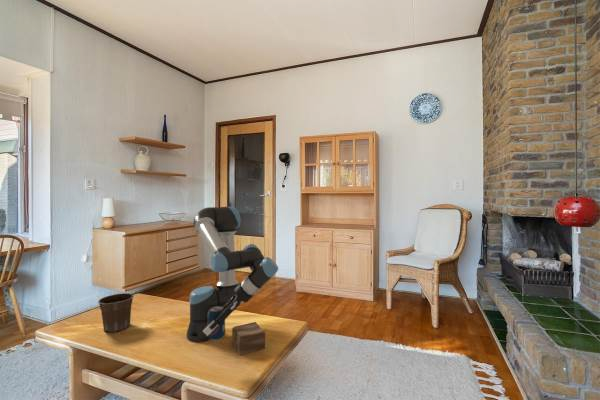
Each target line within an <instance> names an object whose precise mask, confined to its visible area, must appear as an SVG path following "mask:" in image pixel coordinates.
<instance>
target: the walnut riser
mask: <svg viewBox="0 0 600 400" xmlns="http://www.w3.org/2000/svg"><path fill="white" fill-rule="evenodd" d="M231 329H232V330H231V335H232V338H231V339H232V345H233V347H234V349H235V350H236V351H237V353H238V354H239V356H241V355H244V354H249V353H253V352H256V351H259V350H264V349H266V333H265V331H264V329H263V328H262V327H261V326H260V325H259V324H258V323H257V321H254V322H248V323H245V324H240V325H235V326H233V327H232V328H231Z"/></svg>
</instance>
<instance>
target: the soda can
mask: <svg viewBox="0 0 600 400" xmlns="http://www.w3.org/2000/svg"><path fill="white" fill-rule="evenodd" d="M223 310H224V309H223V307H222V306H213V307H211V308H209V311H208V325H209V324H210V323H211V322H212V321H213V318H214V319H216V318H217V317H218V316H219V315H220V314H221V312H222V311H223ZM225 334H226V319H225V320H224V321H223V322H222V323H221V325H218V326H217V327H216V328H215V329H214V330H213V331H212V332H211V333H210V334H209V335H208V337H209V338H210V339H209V340H211V341H220V340H222V339H223V338H224V336H225Z"/></svg>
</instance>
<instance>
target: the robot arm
mask: <svg viewBox="0 0 600 400" xmlns="http://www.w3.org/2000/svg"><path fill="white" fill-rule="evenodd" d="M241 221H242V219H241V216H240V212H239V210H238V209H237V208H236V207H234V206H218V207H217V206H216V207H215V206H213V207H211V206H210V207H204V208H202V209H201V210H199V211H198V212H197V213H196V214H195V215H194V217H193V224H192V225H193V229H194V231H195V232H196V233H197V234H199V235H200V237H201V239H202V240H203V243H205V245H206V247H207V249H208V251H209V253H210V255H211V256H210V266H211V270H212V271H213V272H215V273H218V281H217V282H216V287H215V288H214V287H213V286H212V285H206V286H205V285H204V286H200V287H198V288H195V289H193V290H192V291H191V292H190V293H189V294H190V295H189V301H188V302H189V324H188V326H187V331H186V340H188V341H189V342H196V343H197V342H198V343H199V342H200V343H201V342H206V341H209V340H211V339H210V338H209V337H208V335H209V334H210V333H211V332H212V331H213V330H214V329H215V328H216V327H217V326H218V325H221V323H222V322H223V321H224V320H225V321H226V319H228V317H229V316H230V315H231V314H232V313H233V312H234V311H235V310H236V309H237V308H238V307H240V306H241V304H242V303H248V302H249V301H250V300H251V299H252V298H253V296H255V295H256V294H257V292H258V293H260V292H261V288H263V287H264V285H266V284H267V283H268V282H269V281H270V280H271V279H272V278H273V277H274V276H275V275H276V273H277V272H279V266H278V265H277V263H276V262H275V260H273V259H272V258H270V257H268V256H267V257H265V256H264V255H263V254H264V253H262V251H261V249H260V248H259V247H258V246H257V245H256V244H253V243H251V244H250V243H249V244H248V245H245V246H244V247H243V248H242V250H235V249H236V248H235V234H236V233H237V231H238V228H240V226H241V223H242V222H241ZM246 268H250V270H251V272H250V273H249V274H248V275H247V276H246V277H245V278H243V280H242V281H241V283H239V280H237V279H236V278H237V277H236V270H240V269H241V270H242V269H246ZM213 306H222V307H223V309H224V310H223V311H222V312H221V314H220V315H219V316H218V317H217V318H216V319H214V318H213V321H212V322H211V323H210V324H209V325H208V311H209V308H211V307H213Z"/></svg>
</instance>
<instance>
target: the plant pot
mask: <svg viewBox="0 0 600 400" xmlns="http://www.w3.org/2000/svg"><path fill="white" fill-rule="evenodd" d="M133 298H134V294H132V293H130V292H129V293H127V292H125V293H123V292H122V293H115V294H110V295H107V296H104V297H101V298H100V299H98V301H97V302H98V304H99V309H100V311H101V318H102V319H101V320H102V326H103V332H105V331H108V332H107V333H117V331H118V332H120V331H124V330H125V329H126V328H127V327H128V328H129V327H130V325H131V316H132V304H133ZM123 329H124V330H123Z"/></svg>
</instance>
